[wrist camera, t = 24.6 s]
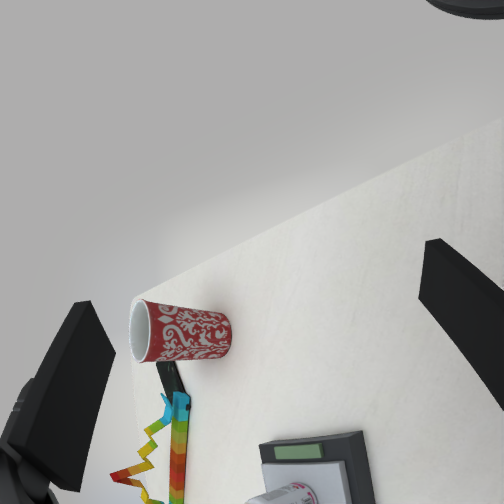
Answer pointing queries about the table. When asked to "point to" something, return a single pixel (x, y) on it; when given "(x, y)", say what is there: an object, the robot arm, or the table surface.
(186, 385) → the table surface
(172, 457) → the chart
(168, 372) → the smartphone
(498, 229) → the table surface
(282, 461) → the scale
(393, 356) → the table surface
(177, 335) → the mug
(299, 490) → the pill bottle
